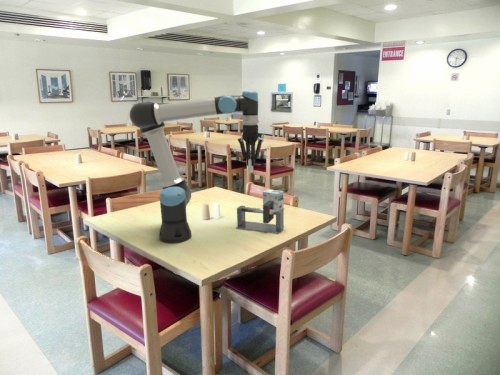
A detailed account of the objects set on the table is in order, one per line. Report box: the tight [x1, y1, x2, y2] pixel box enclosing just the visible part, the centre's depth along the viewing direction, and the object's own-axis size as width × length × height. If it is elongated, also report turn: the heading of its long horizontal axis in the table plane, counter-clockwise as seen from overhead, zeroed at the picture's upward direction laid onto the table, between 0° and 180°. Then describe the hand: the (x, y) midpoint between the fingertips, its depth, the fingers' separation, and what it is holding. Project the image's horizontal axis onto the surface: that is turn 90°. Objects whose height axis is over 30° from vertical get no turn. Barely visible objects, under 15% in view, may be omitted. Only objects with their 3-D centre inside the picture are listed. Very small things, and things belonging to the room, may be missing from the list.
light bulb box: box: [262, 188, 285, 210], centre depth 218 cm, size 11×7×11 cm, turn 58°
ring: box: [262, 200, 275, 224], centre depth 184 cm, size 2×9×9 cm, turn 158°
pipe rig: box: [236, 205, 285, 235], centre depth 187 cm, size 23×10×10 cm, turn 68°
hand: (250, 172), depth 184 cm, fingers closed
